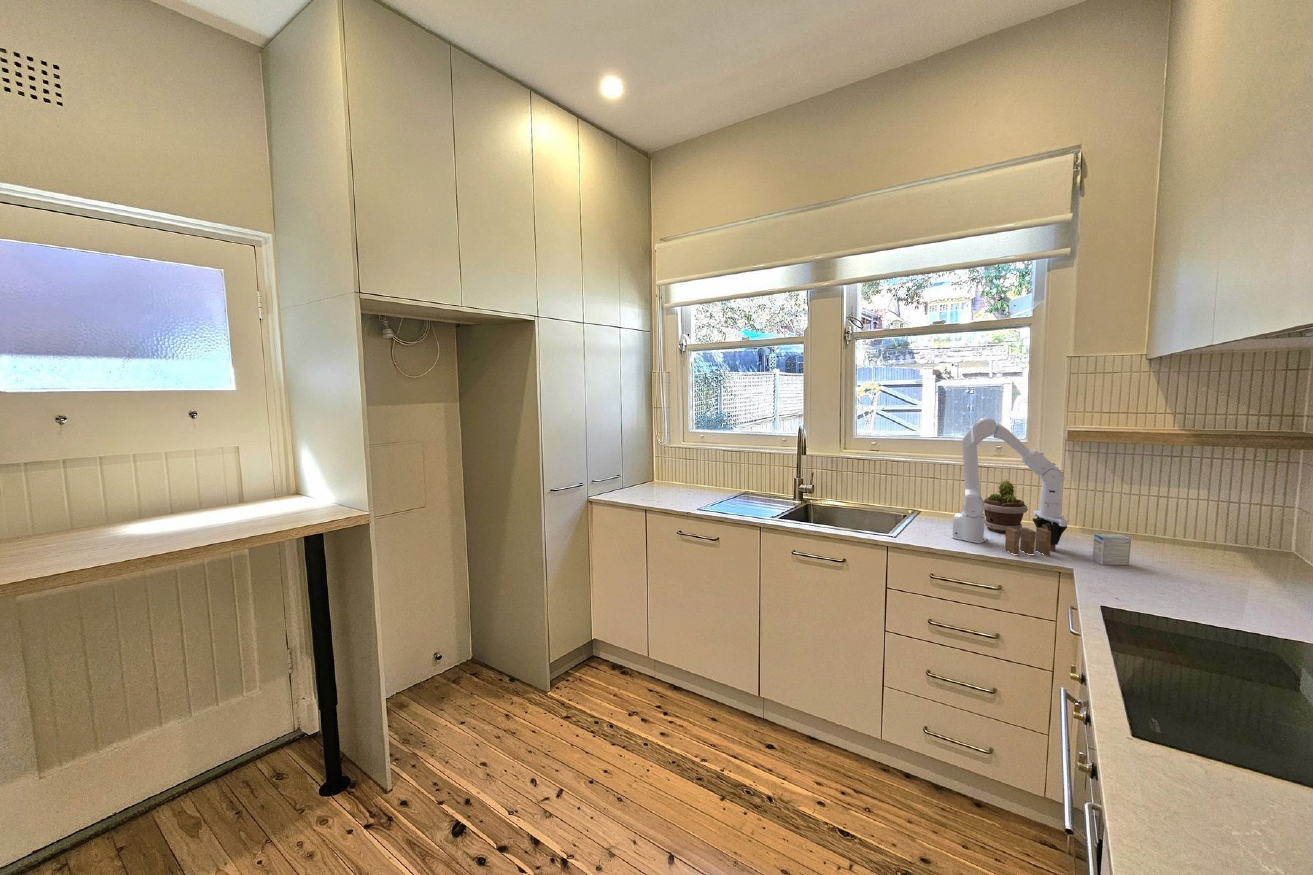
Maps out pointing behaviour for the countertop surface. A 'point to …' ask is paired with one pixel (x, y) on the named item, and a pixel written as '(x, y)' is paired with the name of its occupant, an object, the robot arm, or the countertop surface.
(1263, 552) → the countertop surface
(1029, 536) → the domino
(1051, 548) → the domino
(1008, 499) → the flowerpot
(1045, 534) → the domino
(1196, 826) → the countertop surface
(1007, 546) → the domino
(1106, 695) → the countertop surface
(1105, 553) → the medicine box
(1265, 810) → the countertop surface
